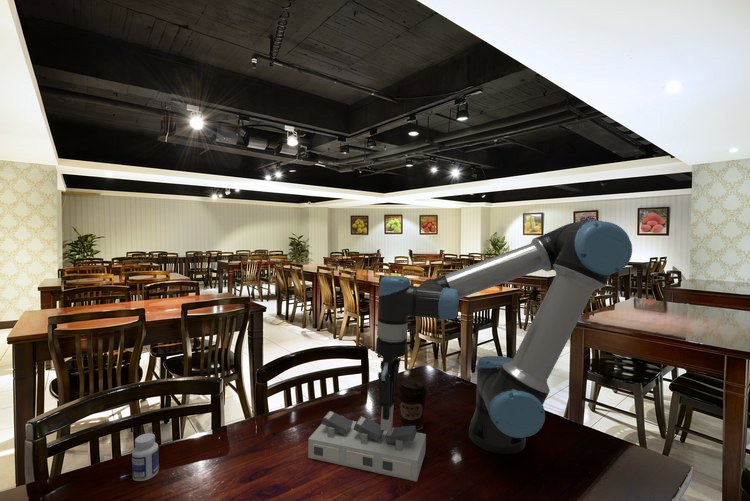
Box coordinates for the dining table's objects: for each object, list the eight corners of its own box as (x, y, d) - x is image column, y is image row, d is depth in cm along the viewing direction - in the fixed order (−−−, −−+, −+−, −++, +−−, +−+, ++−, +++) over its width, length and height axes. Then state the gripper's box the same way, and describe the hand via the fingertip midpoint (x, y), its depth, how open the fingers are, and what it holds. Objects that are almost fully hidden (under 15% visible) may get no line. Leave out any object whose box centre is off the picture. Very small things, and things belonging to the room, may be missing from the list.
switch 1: (350, 429, 100) (353, 420, 99) (343, 439, 95) (346, 429, 95) (327, 418, 102) (330, 409, 101) (319, 427, 97) (322, 418, 96)
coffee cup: (425, 435, 105) (426, 391, 105) (396, 432, 107) (397, 388, 106) (427, 420, 114) (428, 379, 113) (400, 417, 116) (401, 376, 115)
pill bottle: (153, 464, 91) (153, 429, 90) (162, 473, 87) (162, 436, 87) (128, 475, 86) (128, 438, 86) (137, 485, 83) (136, 446, 83)
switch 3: (417, 434, 94) (415, 424, 94) (414, 445, 89) (411, 434, 89) (392, 436, 96) (389, 426, 96) (387, 447, 91) (384, 436, 92)
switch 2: (382, 435, 97) (385, 426, 97) (377, 445, 92) (380, 436, 92) (358, 423, 99) (361, 414, 99) (352, 433, 94) (354, 424, 94)
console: (425, 452, 97) (426, 425, 97) (416, 482, 85) (417, 452, 85) (327, 433, 106) (328, 408, 105) (307, 458, 94) (307, 431, 93)
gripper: (384, 329, 100) (379, 414, 101) (369, 343, 87) (363, 439, 89) (411, 333, 98) (406, 419, 99) (400, 347, 85) (394, 446, 87)
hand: (386, 429), depth 94 cm, fingers closed
